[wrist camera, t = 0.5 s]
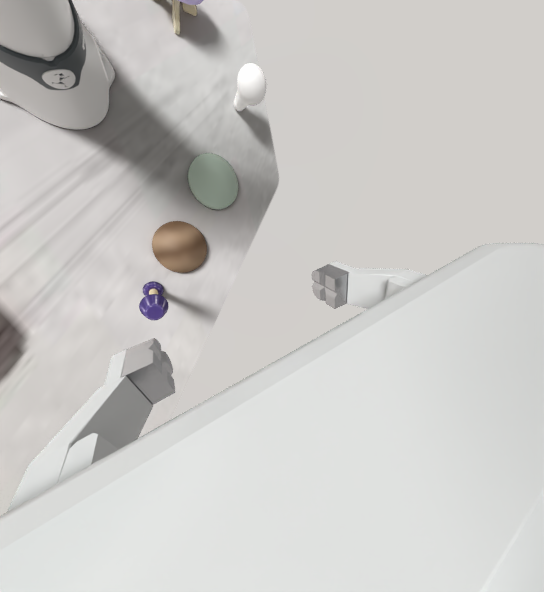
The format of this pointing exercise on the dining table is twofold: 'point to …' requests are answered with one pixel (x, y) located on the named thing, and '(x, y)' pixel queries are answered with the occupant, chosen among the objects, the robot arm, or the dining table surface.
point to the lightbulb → (250, 86)
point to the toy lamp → (153, 301)
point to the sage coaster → (212, 181)
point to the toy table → (188, 6)
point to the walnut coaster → (179, 246)
